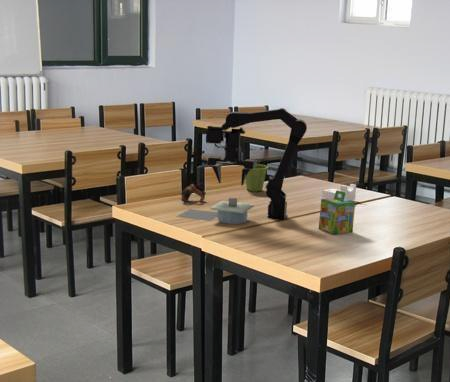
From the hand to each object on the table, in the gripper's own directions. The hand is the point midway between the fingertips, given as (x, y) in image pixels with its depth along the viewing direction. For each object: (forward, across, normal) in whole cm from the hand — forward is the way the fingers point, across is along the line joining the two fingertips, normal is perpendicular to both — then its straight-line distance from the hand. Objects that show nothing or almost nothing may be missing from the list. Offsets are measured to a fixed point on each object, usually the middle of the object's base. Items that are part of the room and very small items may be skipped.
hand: (231, 184), depth 277 cm
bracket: (+12, -36, -49) cm, 62 cm away
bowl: (+12, -4, +10) cm, 16 cm away
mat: (+12, +10, +7) cm, 17 cm away
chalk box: (+12, -43, +7) cm, 45 cm away
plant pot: (+12, +4, -50) cm, 52 cm away
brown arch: (+12, +22, -15) cm, 29 cm away
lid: (+7, -4, +10) cm, 13 cm away
